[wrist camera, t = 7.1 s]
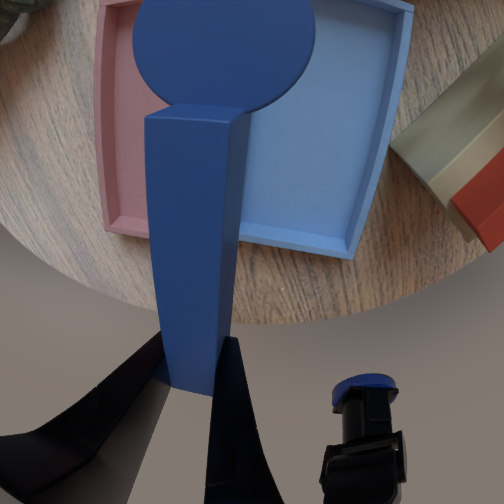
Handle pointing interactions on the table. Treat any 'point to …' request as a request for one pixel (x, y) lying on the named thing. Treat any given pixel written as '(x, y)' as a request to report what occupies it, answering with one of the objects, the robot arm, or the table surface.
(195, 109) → the blue paddle
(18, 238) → the table surface
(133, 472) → the robot arm
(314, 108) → the blue tray
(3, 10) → the bracelet
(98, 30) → the rose tray
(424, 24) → the table surface
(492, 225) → the red spoon
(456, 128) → the wooden rectangular block
